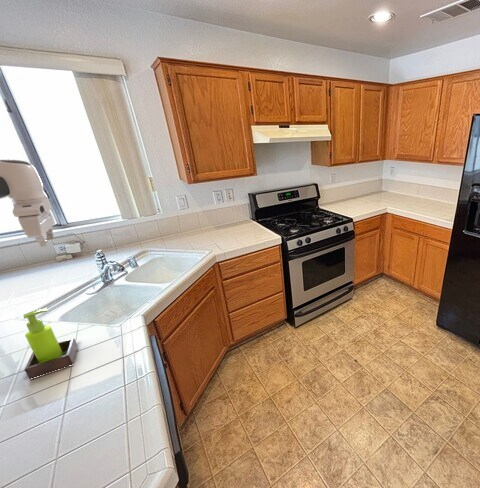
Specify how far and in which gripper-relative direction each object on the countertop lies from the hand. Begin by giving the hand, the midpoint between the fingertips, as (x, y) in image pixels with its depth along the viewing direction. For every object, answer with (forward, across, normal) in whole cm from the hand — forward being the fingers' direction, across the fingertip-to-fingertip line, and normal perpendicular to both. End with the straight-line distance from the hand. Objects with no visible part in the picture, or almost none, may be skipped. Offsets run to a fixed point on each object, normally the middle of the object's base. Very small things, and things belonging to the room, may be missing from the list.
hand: (47, 242), depth 99 cm
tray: (+37, +24, -4) cm, 44 cm away
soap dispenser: (+36, +24, -4) cm, 44 cm away
